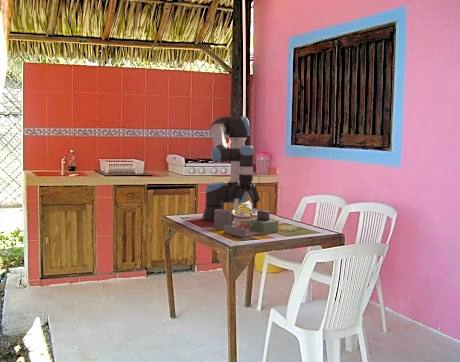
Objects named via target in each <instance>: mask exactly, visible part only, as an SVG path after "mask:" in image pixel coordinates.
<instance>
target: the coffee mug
mask: <svg viewBox="0 0 460 362" xmlns="http://www.w3.org/2000/svg"><path fill="white" fill-rule="evenodd" d="M234 215H235V213H233V212H232V210H231V209H227V208H226V209H225V208H224V209H217V210H214V221H213V228H215V229H217V230H224V225H227V226H231V227H232V223H233V222H234Z"/></svg>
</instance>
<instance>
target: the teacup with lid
mask: <svg viewBox="0 0 460 362" xmlns="http://www.w3.org/2000/svg"><path fill="white" fill-rule="evenodd" d="M252 218H253V217H251V214H248V213H247V212H245V210H240V212H238V213H234V220H233V222H234V224H233V225H234V226H233V227H236V228H240V229H244V230H246V232H245V233H248V232H250V227H251V226H252V225H253V223H254V220H253V219H252ZM250 219H251V220H252V223H251V225H250Z"/></svg>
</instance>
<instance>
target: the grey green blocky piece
mask: <svg viewBox="0 0 460 362" xmlns="http://www.w3.org/2000/svg"><path fill="white" fill-rule="evenodd" d="M256 214H257V215H256V217H251V218H252V219H253V220H254V223H253V225H252V226H251V227H250V232H248V233H245V232H246V230H244V229H240V228H236V227H234V226H232V225H231V226H227V225H224V229H223V233H225V234H229V235H233V236H237V237H241V238H248V237H253V236H259V235H266V234H271V233H277V232H279V220H275V219H270V210H268V209H260V210H256ZM251 223H252V220H251V219H250V225H251Z"/></svg>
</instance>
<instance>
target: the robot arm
mask: <svg viewBox="0 0 460 362" xmlns="http://www.w3.org/2000/svg"><path fill="white" fill-rule="evenodd" d="M209 132H210V135H211V136H212V142H213V147H212V148H211V160H212V162H230V177H229V178H230V179H229V180H228V181H227V184H226V183H225V182H224V181H217V182H210V183H207V185H206V186H205V207H204V210H203V214H202V221H206V222H214V210H217V209H225V204H233V205H234V206H233V208H234V209H233V211H235V212H236V211H239V209H240V208H239V206H240V205H239V204H244V203H246V202H247V201H248V198H249V197H250V199H251V210H250V211H251V214H250V215H256V214H257V209H258V207H257V206H258V203H259V202H260V201H261V199H260V196H259V193H258V189H257V183H252V182H253V177H254V176H253V174H254V173H253V172H254V154H255V153H254V147H253V145H245V143H246V140H247V139H248V136H250V135H251V128H250V121H249V118H248V117H246V116H224V115H223V116H219V117H217V118H216V119H214V120H213V121H212V123H211V124H210V127H209ZM226 136H228V140H230V147H228V144H227V139H226Z"/></svg>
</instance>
